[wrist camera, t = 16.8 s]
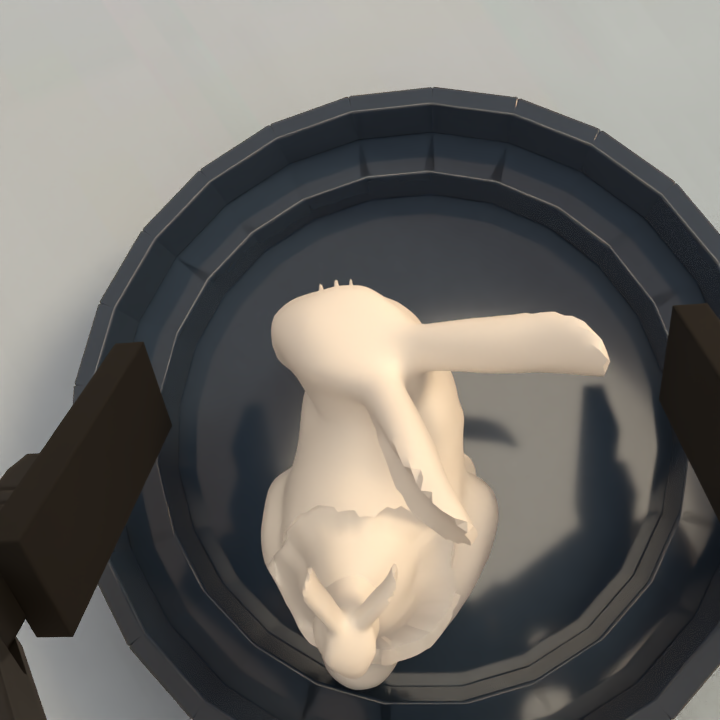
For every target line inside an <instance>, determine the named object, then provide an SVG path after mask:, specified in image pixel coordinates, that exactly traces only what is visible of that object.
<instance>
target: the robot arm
mask: <svg viewBox="0 0 720 720" xmlns="http://www.w3.org/2000/svg"><path fill="white" fill-rule="evenodd" d="M659 401H660V403H661V405H662V407H663V409H664V411H665V413H666V415H667V417H668V419H669V421H670V423H671V425H672V427H673V430H674V432H675V434H676V436H677V438H678V440H679V442H680V444H681V446H682V448H683V450H684V452H685V454H686V456H687V458H688V460H689V462H690V464H691V466H692V468H693V470H694V472H695V474H696V476H697V478H698V480H699V482H700V484H701V486H702V488H703V490H704V492H705V494H706V496H707V498H708V500H709V502H710V504H711V506H712V508H713V510H714V512H715V514H716V516H717V518H718V520H719V522H720V320H719V318H718V317H717V316H716V314H715V313H714V312H713V310H712V309H711V308H710V306H709V305H708V303H701V304H686V305H673V307H672V314H671V321H670V328H669V334H668V341H667V348H666V355H665V361H664V368H663V375H662V382H661V389H660V395H659ZM171 427H172V424H171V421H170V418H169V415H168V412H167V409H166V406H165V403H164V400H163V397H162V394H161V391H160V388H159V385H158V382H157V380H156V377H155V374H154V371H153V368H152V365H151V362H150V359H149V356H148V353H147V350H146V347H145V344H144V342H131V343H116V344H115V345H114V346H113V348H112V349H111V351H110V352H109V353H108V355H107V356H106V358H105V359H104V361H103V362H102V364H101V365H100V367H99V368H98V369H97V371H96V372H95V374H94V375H93V377H92V378H91V380H90V381H89V382H88V384H87V385H86V387H85V388H84V390H83V391H82V393H81V394H80V396H79V397H78V398H77V400H76V401H75V403H74V404H73V406H72V407H71V409H70V410H69V412H68V413H67V414H66V416H65V417H64V419H63V420H62V422H61V423H60V425H59V426H58V427H57V429H56V430H55V432H54V433H53V435H52V436H51V438H50V439H49V441H48V442H47V443H46V445H45V446H44V448H43V449H42V451H41V452H40V453H38V454H27V455H25V456H24V457H23V458H22V459H20V460H19V461H18V462H17V463H15V464H14V465H13V466H12V467H10V468H9V469H8V470H7V471H6V472H5V474H4V475H3V477H2V478H1V479H0V720H47V719H46V716H45V713H44V710H43V707H42V704H41V701H40V698H39V695H38V692H37V689H36V686H35V683H34V680H33V677H32V674H31V671H30V668H29V665H28V662H27V659H26V656H25V653H24V650H23V647H22V645H21V643H20V642H19V640H18V639H17V637H16V635H17V633H18V631H19V630H20V628H21V626H22V624H23V622H24V620H25V619H26V620H27V622H28V624H29V625H30V627H31V629H32V630H33V632H34V634H35V635H36V637H73V635H74V633H75V631H76V629H77V627H78V625H79V623H80V621H81V618H82V616H83V614H84V612H85V610H86V608H87V606H88V604H89V601H90V599H91V597H92V595H93V593H94V591H95V589H96V587H97V584H98V582H99V580H100V578H101V576H102V574H103V572H104V570H105V567H106V565H107V563H108V561H109V559H110V557H111V555H112V552H113V550H114V548H115V546H116V544H117V542H118V540H119V538H120V535H121V533H122V531H123V529H124V527H125V525H126V523H127V521H128V518H129V516H130V514H131V512H132V510H133V508H134V506H135V504H136V501H137V499H138V497H139V495H140V493H141V491H142V489H143V487H144V484H145V482H146V480H147V478H148V476H149V474H150V472H151V470H152V467H153V465H154V463H155V461H156V459H157V457H158V455H159V452H160V450H161V448H162V446H163V444H164V442H165V440H166V438H167V435H168V433H169V431H170V429H171Z"/></svg>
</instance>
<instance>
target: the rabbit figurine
mask: <svg viewBox="0 0 720 720" xmlns="http://www.w3.org/2000/svg"><path fill="white" fill-rule="evenodd" d="M271 338H272V346H273V349H274V351H275V354H276V356H277V358H278V360H279V361H280V362H281V363H282V364H283V365H284V366H285V367H287V368H288V369H289V370H291V371H292V373H293V374H294V375H295V376H296V377H297V379H298V380H299V382H300V383H301V385H302V387H303V388H304V390H305V393H304V397H303V403H302V411H301V421H300V431H299V440H298V446H297V451H296V455H295V459H294V463H293V466H292V467H291V468H289V469H288V470H286V471H285V472H283V473H282V474H280V475H279V476H278V477H276V478H275V479H274V481H273V482H272V484H271V485H270V488H269V490H268V493H267V497H266V501H265V506H264V512H263V519H262V526H261V546H262V553H263V558H264V562H265V564H266V567H267V569H268V571H269V573H270V574H271V576H272V578H273V580H274V581H275V583H276V585H277V587H278V589H279V590H280V592H281V594H282V596H283V599H284V601H285V603H286V605H287V606H288V608H289V610H290V611H291V613H292V615H293V617H294V619H295V622H296V624H297V626H298V628H299V630H300V631H301V633H302V634H303V636H304V637H305V639H306V640H307V641H308V642H309V643H310V644H311V645H313V646H315V647H317V648H318V650H319V651H320V653H321V654H322V659H323V662H324V664H325V667H326V669H327V671H328V672H329V674H330V675H331V676H332V677H333V678H334V679H335V680H336V681H338V682H339V683H340V684H342V685H344V686H345V687H347V688H350V689H353V690H365V689H370V688H373V687H376V686H378V685H379V684H381V683H382V682H383V681H384V680H386V678H387V677H388V676H389V675H390V673H391V672H392V671H393V669H394V668H395V666H396V664H397V662H399V661H402V660H405V659H408V658H411V657H414V656H416V655H418V654H420V653H422V652H423V651H425V650H426V649H428V648H430V647H431V646H432V645H433V644H434V643H435V642H436V641H437V639H438V638H439V637H440V636H441V634H442V633H443V632H444V630H445V629H446V628H447V626H448V625H449V624H450V623H451V621H452V620H453V619H454V618H455V616H456V615H457V613H458V612H459V610H460V609H461V607H462V606H463V604H464V603H465V601H466V600H467V598H468V597H469V595H470V593H471V591H472V590H473V588H474V586H475V584H476V583H477V581H478V579H479V576H480V574H481V572H482V570H483V567H484V565H485V563H486V562H487V560H488V557H489V555H490V552H491V549H492V545H493V542H494V538H495V534H496V530H497V524H498V504H497V500H496V497H495V494H494V493H493V491H492V489H491V488H490V487H489V485H488V484H487V483H486V482H484V481H483V480H481V479H480V478H479V477H477V476H476V471H475V467H474V465H473V463H472V461H471V459H470V458H469V457H468V456H467V455H465V454H464V451H463V429H464V414H463V410H462V408H461V405H460V402H459V399H458V393H457V389H456V385H455V381H454V378H453V375H452V373H451V371H460V372H476V373H530V372H539V373H565V374H576V375H586V376H604V375H605V373H606V370H607V368H608V365H609V363H610V359H609V356H608V353H607V350H606V348H605V346H604V344H603V341H602V339H601V338H600V337H599V336H598V335H597V334H596V333H595V332H594V331H593V330H592V329H591V328H590V327H589V326H588V325H587V324H586V323H585V322H584V321H582V320H580V319H578V318H576V317H574V316H564V315H562V314H559V313H557V312H540V313H534V314H530V313H521V314H515V315H502V316H493V317H481V318H470V319H462V320H454V321H446V322H438V323H430V324H422V323H421V322H420V320H419V319H418V318H417V317H416V316H415V315H414V314H413V313H412V312H411V311H410V310H408V309H407V308H406V307H404V306H403V305H401V304H400V303H398V302H396V301H394V300H391V299H389V298H386V297H383V296H382V295H380V294H379V293H377V292H376V291H374V290H372V289H370V288H368V287H365V286H359V285H353V283H352V280H351V279H350V281H349V285H342V286H339V284H338V281H337V280H335V282H334V287H331V288H327V289H323V287H322V285H321V284H320V285H319V291H317V292H313V293H309V294H306V295H303V296H300V297H297V298H295V299H293V300H291V301H290V302H288V303H287V304H285V305H284V306H283V307H282V308H281V309H280V310H279V311H278V312H277V313H276V314H275V316H274V318H273V321H272V326H271Z"/></svg>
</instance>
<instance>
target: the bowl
mask: <svg viewBox="0 0 720 720" xmlns="http://www.w3.org/2000/svg"><path fill="white" fill-rule="evenodd" d="M350 279H351V280H352V283H353V285H359V286H365V287H368V288H370V289H372V290H374V291H376V292H377V293H379V294H380V295H382V296H383V297H386V298H389V299H391V300H394V301H396V302H398V303H400V304H401V305H403V306H404V307H406V308H407V309H408V310H410V311H411V312H412V313H413V314H414V315H415V316H416V317H417V318H418V319H419V320H420V322H421V323H422V324H430V323H438V322H446V321H454V320H462V319H470V318H481V317H493V316H502V315H515V314H521V313H530V314H534V313H540V312H557V313H559V314H562V315H564V316H574V317H576V318H578V319H580V320H582V321H584V322H585V323H586V324H587V325H588V326H589V327H590V328H591V329H592V330H593V331H594V332H595V333H596V334H597V335H598V336H599V337H600V338H601V339H602V341H603V344H604V346H605V348H606V350H607V353H608V356H609V359H610V363H609V365H608V368H607V370H606V373H605V375H604V376H586V375H576V374H565V373H539V372H530V373H476V372H460V371H451V373H452V375H453V378H454V381H455V385H456V389H457V393H458V399H459V402H460V405H461V408H462V410H463V414H464V429H463V451H464V454H465V455H467V456H468V457H469V458H470V459H471V461H472V463H473V465H474V467H475V471H476V476H477V477H479V478H480V479H481V480H483V481H484V482H486V483H487V484H488V485H489V487H490V488H491V489H492V491H493V493H494V494H495V497H496V500H497V504H498V524H497V530H496V534H495V538H494V542H493V545H492V549H491V552H490V555H489V557H488V560H487V562H486V563H485V565H484V567H483V570H482V572H481V574H480V576H479V579H478V581H477V583H476V584H475V586H474V588H473V590H472V591H471V593H470V595H469V597H468V598H467V600H466V601H465V603H464V604H463V606H462V607H461V609H460V610H459V612H458V613H457V615H456V616H455V618H454V619H453V620H452V621H451V623H450V624H449V625H448V626H447V628H446V629H445V630H444V632H443V633H442V634H441V636H440V637H439V638H438V639H437V641H436V642H435V643H434V644H433V645H432V646H431V647H430V648H428V649H426V650H425V651H423V652H422V653H420V654H418V655H416V656H414V657H411V658H408V659H405V660H402V661H399V662H397V664H396V666H395V668H394V669H393V671H392V672H391V673H390V675H389V676H388V677H387V678H386V680H384V681H383V682H382V683H381V684H379V685H378V686H376V687H373V688H370V689H365V690H353V689H350V688H347V687H345V686H344V685H342V684H340V683H339V682H338V681H336V680H335V679H334V678H333V677H332V676H331V675H330V674H329V672H328V671H327V669H326V667H325V664H324V662H323V659H322V654H321V653H320V651H319V650H318V648H317V647H315V646H313V645H311V644H310V643H309V642H308V641H307V640H306V639H305V637H304V636H303V634H302V633H301V631H300V630H299V628H298V626H297V624H296V622H295V619H294V617H293V615H292V613H291V611H290V610H289V608H288V606H287V605H286V603H285V601H284V599H283V596H282V594H281V592H280V590H279V589H278V587H277V585H276V583H275V581H274V580H273V578H272V576H271V574H270V573H269V571H268V569H267V567H266V564H265V562H264V558H263V553H262V546H261V526H262V519H263V512H264V506H265V501H266V497H267V493H268V490H269V488H270V485H271V484H272V482H273V481H274V479H275V478H276V477H278V476H279V475H280V474H282V473H283V472H285V471H286V470H288V469H289V468H291V467H292V466H293V463H294V459H295V455H296V451H297V446H298V440H299V431H300V421H301V411H302V403H303V397H304V393H305V390H304V388H303V387H302V385H301V383H300V382H299V380H298V379H297V377H296V376H295V375H294V374H293V373H292V371H291V370H289V369H288V368H287V367H285V366H284V365H283V364H282V363H281V362H280V361H279V360H278V358H277V356H276V354H275V351H274V349H273V346H272V338H271V326H272V321H273V318H274V316H275V314H276V313H277V312H278V311H279V310H280V309H281V308H282V307H283V306H284V305H285V304H287V303H288V302H290V301H291V300H293V299H295V298H297V297H300V296H303V295H306V294H309V293H313V292H317V291H319V285H320V284H321V285H322V287H323V289H327V288H331V287H334V282H335V280H337V281H338V284H339V286H342V285H349V281H350ZM100 303H101V304H99V305H98V308H97V311H96V315H95V318H94V321H93V325H92V328H91V331H90V335H89V338H88V341H87V345H86V348H85V351H84V354H83V358H82V361H81V364H80V368H79V371H78V374H77V378H76V381H75V385H76V386H74V395H73V404H74V403H75V401H76V400H77V398H78V397H79V396H80V394H81V393H82V391H83V390H84V388H85V387H86V385H87V384H88V382H89V381H90V380H91V378H92V377H93V375H94V374H95V372H96V371H97V369H98V368H99V367H100V365H101V364H102V362H103V361H104V359H105V358H106V356H107V355H108V353H109V352H110V351H111V349H112V348H113V346H114V345H115V344H116V343H131V342H144V344H145V347H146V350H147V353H148V356H149V359H150V362H151V365H152V368H153V371H154V374H155V377H156V380H157V382H158V385H159V388H160V391H161V394H162V397H163V400H164V403H165V406H166V409H167V412H168V415H169V418H170V421H171V424H172V427H171V429H170V431H169V433H168V435H167V438H166V440H165V442H164V444H163V446H162V448H161V450H160V452H159V455H158V457H157V459H156V461H155V463H154V465H153V467H152V470H151V472H150V474H149V476H148V478H147V480H146V482H145V484H144V487H143V489H142V491H141V493H140V495H139V497H138V499H137V501H136V504H135V506H134V508H133V510H132V512H131V514H130V516H129V518H128V521H127V523H126V525H125V527H124V529H123V531H122V533H121V535H120V538H119V540H118V542H117V544H116V546H115V548H114V550H113V552H112V555H111V557H110V559H109V561H108V563H107V565H106V567H105V570H104V572H103V574H102V576H101V578H100V580H99V582H98V585H99V587H100V589H101V591H102V593H103V595H104V597H105V600H106V602H107V604H108V606H109V608H110V610H111V612H112V614H113V616H114V618H115V620H116V622H117V624H118V626H119V628H120V630H121V632H122V634H123V637H124V639H125V641H126V643H127V645H128V646H130V649H131V650H132V651H133V653H134V654H135V655H136V656H137V657H138V658H139V660H140V661H141V662H142V663H143V664H144V665H145V666H146V668H147V669H148V670H149V671H150V672H151V673H152V674H153V676H154V677H155V678H156V679H157V680H158V681H159V683H160V684H161V685H162V686H163V687H164V688H165V689H166V691H167V692H168V693H169V694H170V695H171V696H172V697H173V699H174V700H175V701H176V702H177V703H178V704H179V706H180V707H181V708H182V709H183V710H184V711H185V712H186V714H187V715H188V716H189V717H190V718H191V719H193V720H673V719H675V717H676V716H677V715H678V714H679V713H680V711H681V710H682V709H683V708H684V707H685V706H686V704H687V703H688V702H689V701H690V700H691V698H692V697H693V696H694V695H695V694H696V693H697V691H698V690H699V689H700V688H701V687H702V685H703V684H704V683H705V682H706V681H707V679H708V678H709V677H710V676H711V675H712V674H713V672H714V671H715V670H716V669H717V668H718V666H719V665H720V522H719V520H718V518H717V516H716V514H715V512H714V510H713V508H712V506H711V504H710V502H709V500H708V498H707V496H706V494H705V492H704V490H703V488H702V486H701V484H700V482H699V480H698V478H697V476H696V474H695V472H694V470H693V468H692V466H691V464H690V462H689V460H688V458H687V456H686V454H685V452H684V450H683V448H682V446H681V444H680V442H679V440H678V438H677V436H676V434H675V432H674V430H673V427H672V425H671V423H670V421H669V419H668V417H667V415H666V413H665V411H664V409H663V407H662V405H661V403H660V401H659V395H660V389H661V382H662V375H663V368H664V361H665V355H666V348H667V341H668V334H669V328H670V321H671V314H672V307H673V305H686V304H701V303H708V305H709V306H710V308H711V309H712V310H713V312H714V313H715V314H716V316H717V317H718V318H719V320H720V234H719V233H718V231H717V230H716V229H715V228H714V227H713V225H712V224H711V223H710V222H709V221H708V220H707V218H706V217H705V216H704V215H703V214H702V212H701V211H700V210H699V209H698V208H697V207H696V205H695V204H694V203H693V202H692V201H691V199H690V198H689V197H688V196H687V195H686V194H685V192H684V191H683V190H682V189H681V188H680V186H679V185H678V184H675V182H674V181H673V180H672V179H671V178H669V177H668V176H666V175H665V174H664V173H662V172H661V171H659V170H658V169H656V168H655V167H654V166H652V165H651V164H649V163H648V162H647V161H645V160H644V159H642V158H641V157H639V156H638V155H637V154H635V153H634V152H632V151H631V150H629V149H628V148H627V147H625V146H624V145H622V144H621V143H620V142H618V141H617V140H615V139H614V138H612V137H611V136H610V135H608V134H607V133H605V132H604V131H601V132H600V129H598V128H596V127H593V126H590V125H588V124H585V123H583V122H580V121H577V120H575V119H572V118H570V117H567V116H564V115H562V114H559V113H557V112H554V111H551V110H549V109H546V108H544V107H541V106H538V105H536V104H533V103H531V102H528V101H525V100H523V99H519V100H518V98H517V97H510V96H502V95H494V94H486V93H478V92H470V91H462V90H454V89H447V88H439V87H433V89H432V88H431V87H428V88H419V89H410V90H401V91H392V92H383V93H374V94H365V95H356V96H350V97H349V98H348V97H345V98H342V99H340V100H337V101H334V102H331V103H328V104H326V105H323V106H320V107H317V108H314V109H312V110H309V111H306V112H303V113H300V114H298V115H295V116H292V117H289V118H286V119H284V120H281V121H278V122H275V123H272V124H271V126H269V125H268V126H266V127H265V128H263V129H262V130H260V131H259V132H257V133H256V134H254V135H253V136H251V137H249V138H248V139H246V140H245V141H243V142H242V143H240V144H239V145H237V146H236V147H234V148H232V149H231V150H229V151H228V152H226V153H225V154H223V155H222V156H220V157H219V158H217V159H215V160H214V161H212V162H211V163H209V164H208V165H206V166H205V167H203V168H202V169H201V171H198V172H197V173H196V174H195V175H194V176H193V177H192V178H191V179H190V180H189V181H188V182H187V183H186V185H185V186H184V187H183V188H182V189H181V190H180V191H179V192H178V193H177V194H176V195H175V196H174V197H173V198H172V199H171V200H170V201H169V202H168V203H167V204H166V205H165V206H164V207H163V209H162V210H161V211H160V212H159V213H158V214H157V215H156V216H155V217H154V218H153V219H152V220H151V221H150V222H149V223H148V224H147V225H146V226H145V227H144V228H143V231H141V232H140V234H139V236H138V237H137V239H136V241H135V243H134V244H133V246H132V248H131V249H130V251H129V253H128V254H127V256H126V258H125V260H124V261H123V263H122V265H121V266H120V268H119V270H118V272H117V273H116V275H115V277H114V278H113V280H112V282H111V283H110V285H109V287H108V289H107V290H106V292H105V294H104V295H103V297H102V299H101V300H100Z"/></svg>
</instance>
